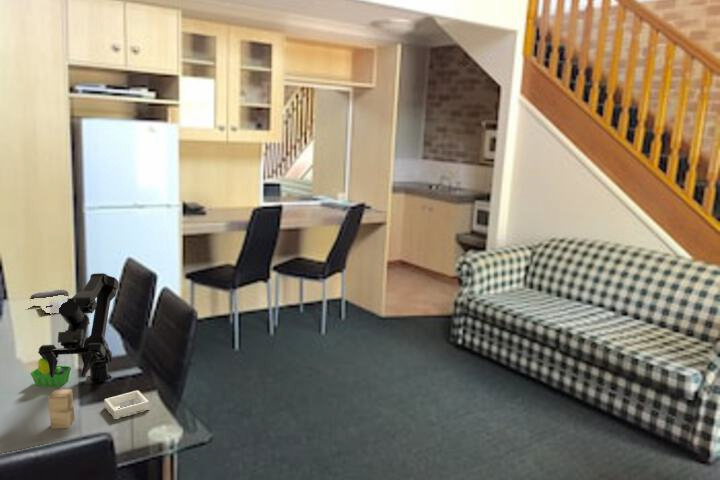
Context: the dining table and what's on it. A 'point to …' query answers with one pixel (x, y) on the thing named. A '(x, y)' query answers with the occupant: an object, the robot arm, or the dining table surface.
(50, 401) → the light brown tall block
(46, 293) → the glasses case
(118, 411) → the tray
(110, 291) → the robot arm
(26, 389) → the dining table surface
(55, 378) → the fruit basket
